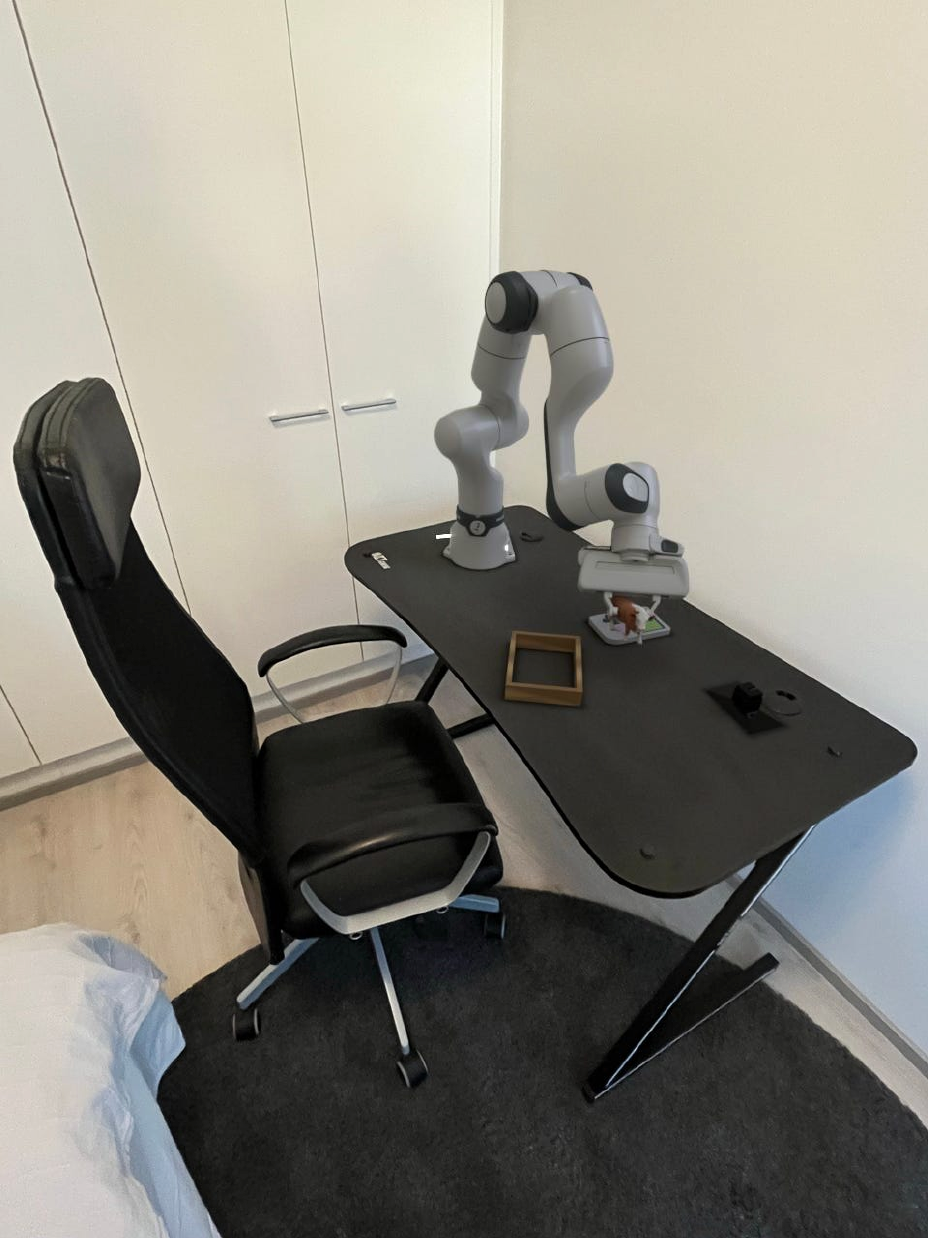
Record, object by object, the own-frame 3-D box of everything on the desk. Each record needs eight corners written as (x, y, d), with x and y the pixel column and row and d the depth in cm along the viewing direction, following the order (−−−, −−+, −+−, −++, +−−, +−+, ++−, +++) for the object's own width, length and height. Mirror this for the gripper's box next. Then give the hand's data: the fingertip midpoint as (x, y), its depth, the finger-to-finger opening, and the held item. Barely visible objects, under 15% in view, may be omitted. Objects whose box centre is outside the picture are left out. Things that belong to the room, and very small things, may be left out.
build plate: (782, 726, 115) (790, 706, 112) (749, 735, 113) (756, 715, 110) (737, 684, 124) (743, 665, 122) (705, 691, 122) (711, 672, 120)
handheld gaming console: (587, 615, 141) (646, 604, 146) (586, 621, 142) (645, 610, 147) (610, 640, 134) (672, 628, 138) (609, 646, 134) (670, 634, 139)
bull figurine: (631, 657, 116) (639, 618, 112) (599, 619, 127) (606, 583, 123) (653, 654, 117) (662, 616, 113) (620, 617, 128) (626, 581, 124)
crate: (511, 644, 135) (512, 630, 133) (578, 650, 133) (580, 636, 131) (504, 699, 120) (505, 685, 118) (580, 706, 118) (582, 692, 116)
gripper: (580, 538, 120) (575, 610, 117) (693, 545, 117) (691, 619, 115) (577, 549, 126) (572, 618, 123) (684, 556, 124) (682, 626, 121)
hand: (630, 618), depth 119 cm, fingers closed on bull figurine, 5 cm apart
